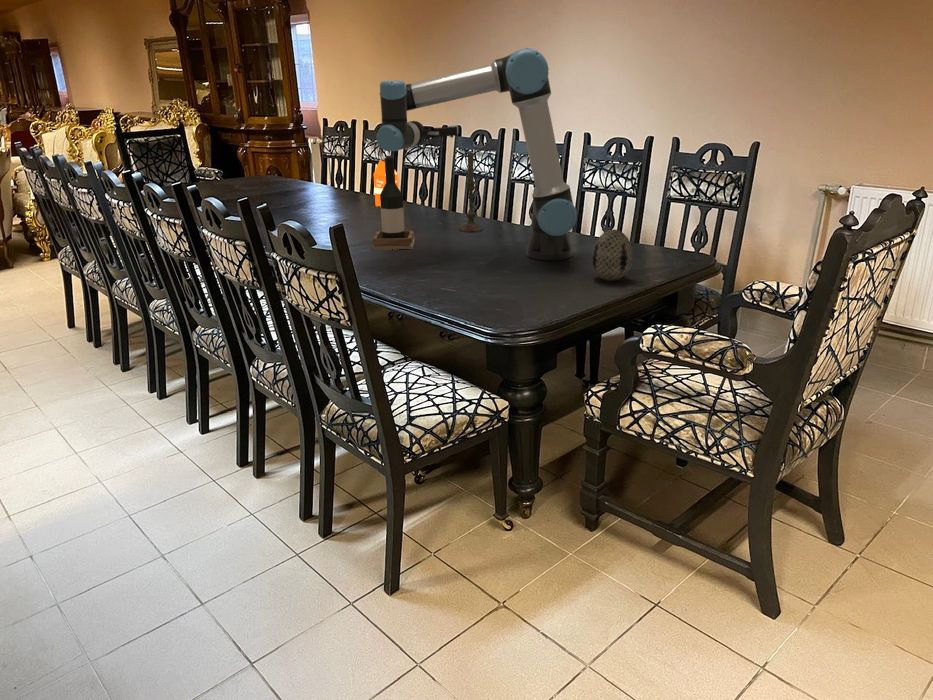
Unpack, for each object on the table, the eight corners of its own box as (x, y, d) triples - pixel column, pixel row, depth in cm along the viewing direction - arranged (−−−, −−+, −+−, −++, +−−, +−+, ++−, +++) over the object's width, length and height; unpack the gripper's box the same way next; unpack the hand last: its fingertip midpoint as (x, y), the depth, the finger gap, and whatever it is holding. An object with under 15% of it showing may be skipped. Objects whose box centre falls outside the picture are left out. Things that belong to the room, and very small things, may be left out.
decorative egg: (582, 277, 207) (585, 227, 202) (616, 272, 211) (619, 224, 206) (604, 287, 197) (607, 236, 192) (638, 283, 201) (642, 232, 196)
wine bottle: (401, 245, 244) (397, 157, 232) (379, 244, 245) (373, 157, 234) (408, 239, 251) (404, 154, 240) (386, 238, 253) (381, 154, 241)
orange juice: (388, 203, 325) (386, 160, 318) (400, 206, 319) (397, 161, 312) (375, 206, 321) (372, 161, 313) (386, 208, 315) (383, 163, 307)
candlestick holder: (456, 231, 268) (454, 151, 257) (464, 226, 276) (463, 149, 265) (478, 233, 265) (477, 152, 253) (486, 228, 273) (486, 149, 261)
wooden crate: (412, 249, 242) (411, 239, 241) (372, 250, 242) (371, 239, 241) (415, 240, 255) (414, 230, 254) (377, 240, 255) (376, 230, 254)
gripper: (375, 145, 219) (405, 139, 237) (447, 148, 210) (473, 141, 228) (373, 121, 216) (404, 116, 234) (446, 122, 207) (472, 117, 226)
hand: (438, 128), depth 232 cm, fingers open, 13 cm apart
